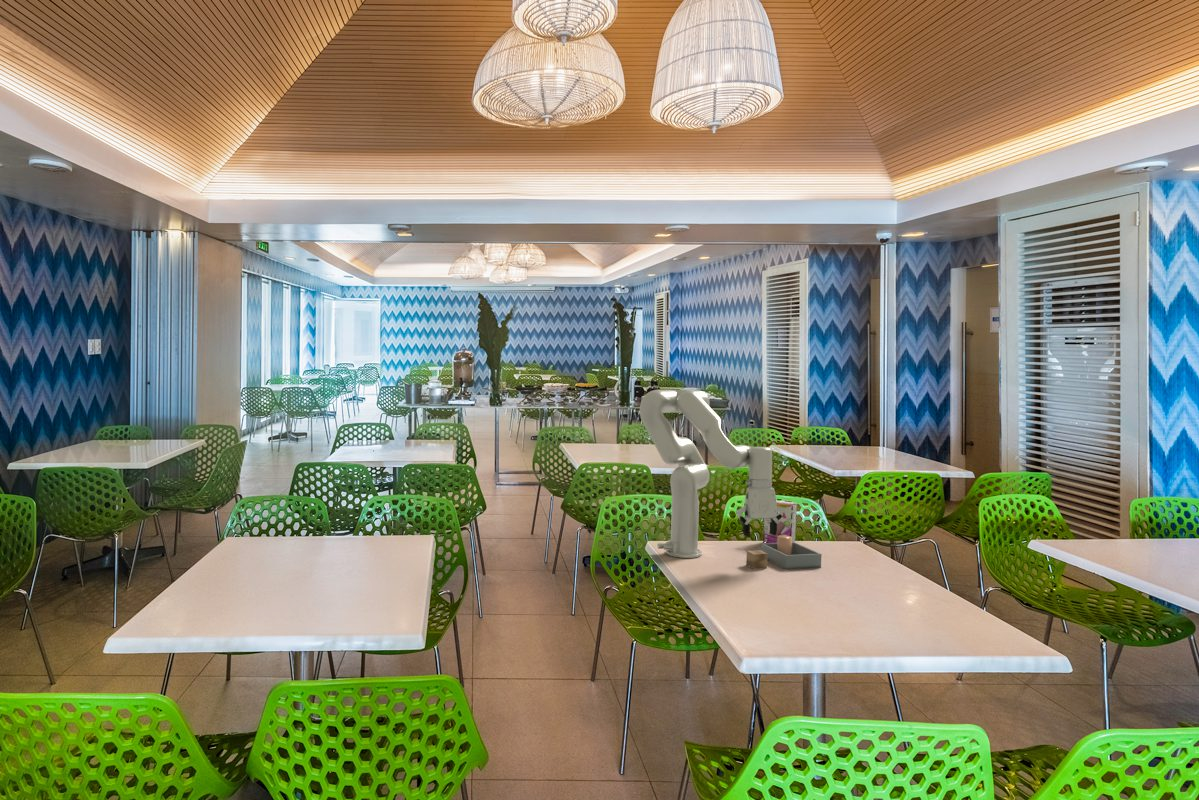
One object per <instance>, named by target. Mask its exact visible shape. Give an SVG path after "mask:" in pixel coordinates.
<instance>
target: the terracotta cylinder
mask: <svg viewBox="0 0 1199 800" xmlns="http://www.w3.org/2000/svg"><path fill="white" fill-rule="evenodd" d="M777 551H780V552H782V553H784V554H786V555H791V553H792V537H791V536H786V535H779V536H777Z"/></svg>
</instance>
